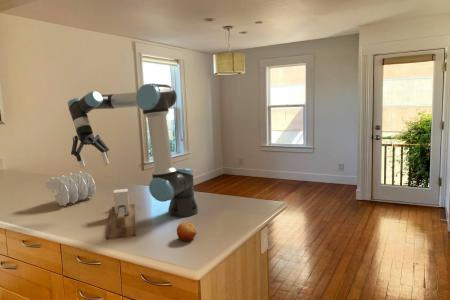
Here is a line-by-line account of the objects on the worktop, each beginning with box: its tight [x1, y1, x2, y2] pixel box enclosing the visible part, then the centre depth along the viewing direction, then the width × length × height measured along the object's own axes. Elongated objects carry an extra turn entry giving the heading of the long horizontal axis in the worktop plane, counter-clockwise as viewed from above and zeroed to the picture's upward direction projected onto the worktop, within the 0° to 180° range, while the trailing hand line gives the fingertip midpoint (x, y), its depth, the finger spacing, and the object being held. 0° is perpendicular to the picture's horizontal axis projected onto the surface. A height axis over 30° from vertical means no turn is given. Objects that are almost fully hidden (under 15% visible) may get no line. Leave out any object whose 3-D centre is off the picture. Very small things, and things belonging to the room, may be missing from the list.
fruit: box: [176, 221, 197, 242], centre depth 139 cm, size 8×8×8 cm
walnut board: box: [105, 203, 137, 241], centre depth 164 cm, size 12×46×8 cm, turn 15°
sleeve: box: [113, 188, 130, 216], centre depth 170 cm, size 7×6×12 cm
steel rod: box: [117, 205, 125, 219], centre depth 163 cm, size 3×42×3 cm, turn 16°
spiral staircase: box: [44, 170, 97, 207], centre depth 200 cm, size 18×18×25 cm
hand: (95, 165), depth 171 cm, fingers open, 13 cm apart
